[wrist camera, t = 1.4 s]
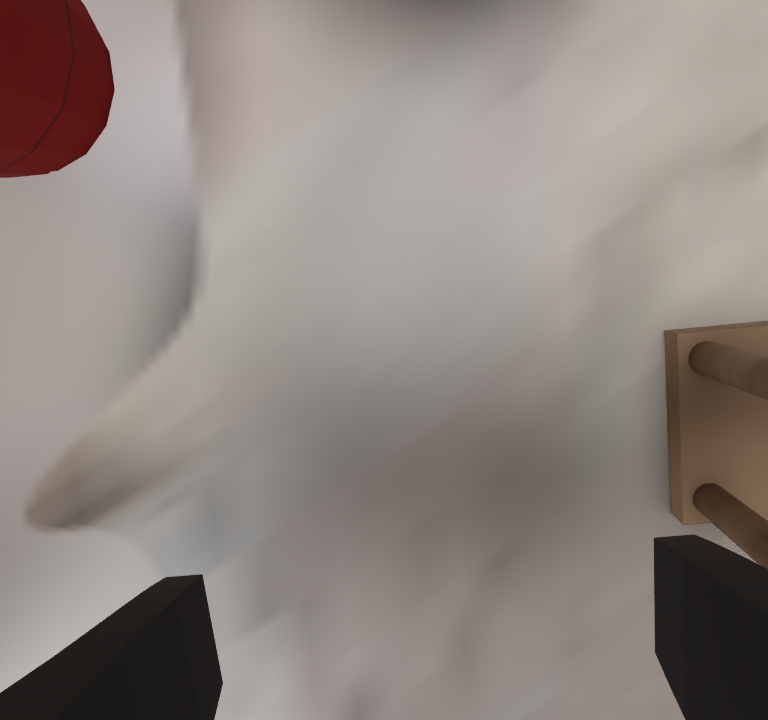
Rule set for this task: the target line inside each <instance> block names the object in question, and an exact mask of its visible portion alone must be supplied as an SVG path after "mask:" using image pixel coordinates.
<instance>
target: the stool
mask: <svg viewBox="0 0 768 720" xmlns="http://www.w3.org/2000/svg"><path fill="white" fill-rule="evenodd" d="M664 336H665V364H666V392H667V420H668V448H669V477H670V505H671V513H672V514H673V515H674V516H675V517H676V518H677V519H678V520H679V521H680V522H681V523H682V524H683V525H689V524H704V523H713V524H714V525H715V526H716V527H717V528H718V529H720V530H721V531H722V532H723V533H724V534H725V535H726V536H728V537H729V538H730V539H731V540H732V541H733V542H734V543H735V544H737V545H738V546H739V547H740V548H741V549H742V550H743V551H744V552H746V553H747V554H748V555H749V556H750V557H751V558H752V559H754V560H755V561H756V562H757V563H758V564H759V565H761V566H763V567H765V568H767V569H768V521H767V520H765V519H768V321H762V322H751V323H741V324H730V325H720V326H709V327H698V328H688V329H677V330H667V331H664Z"/></svg>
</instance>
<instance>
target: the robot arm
mask: <svg viewBox="0 0 768 720" xmlns="http://www.w3.org/2000/svg"><path fill="white" fill-rule="evenodd" d="M654 595H655V653H656V656H657V658H658V660H659V662H660V665H661V667H662V669H663V671H664V674H665V676H666V678H667V681H668V683H669V685H670V687H671V690H672V692H673V694H674V696H675V698H676V700H677V702H678V704H679V707H680V709H681V711H682V713H683V715H684V717H685V719H686V720H768V569H767V568H765V567H763V566H761V565H759V564H757V563H755V562H753V561H751V560H749V559H747V558H745V557H743V556H741V555H738V554H736V553H734V552H732V551H730V550H728V549H726V548H724V547H722V546H720V545H718V544H715V543H713V542H711V541H709V540H706V539H704V538H701V537H699V536H696V535H683V536H671V537H658V538H654ZM222 685H223V682H222V676H221V671H220V666H219V660H218V655H217V650H216V644H215V639H214V634H213V629H212V623H211V618H210V613H209V607H208V602H207V597H206V591H205V586H204V581H203V575H202V574H201V575H189V576H176V577H166V578H164V579H162V580H161V581H159V582H157V583H155V584H154V585H152V586H151V587H149V588H148V589H146V590H145V591H143V592H142V593H140V594H139V595H138V596H136V597H135V598H134V599H132V600H131V601H129V602H128V603H126V604H125V605H124V606H122V607H121V608H120V609H118V610H117V611H115V612H114V613H113V614H111V615H110V616H109V617H107V618H106V619H105V620H103V621H102V622H100V623H99V624H98V625H96V626H95V627H94V628H92V629H91V630H89V631H88V632H87V633H86V634H84V635H83V636H81V637H80V638H78V639H77V640H76V641H75V642H73V643H72V644H70V645H69V646H67V647H66V648H65V649H64V650H62V651H61V652H59V653H58V654H57V655H55V656H54V657H52V658H51V659H49V660H48V661H47V662H45V663H44V664H42V665H41V666H39V667H38V668H36V669H35V670H33V671H32V672H30V673H29V674H27V675H26V676H25V677H23V678H22V679H20V680H19V681H17V682H16V683H14V684H13V685H11V686H10V687H8V688H7V689H5V690H4V691H2V692H1V693H0V720H214V718H215V714H216V710H217V706H218V701H219V697H220V693H221V689H222Z"/></svg>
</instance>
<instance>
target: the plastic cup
mask: <svg viewBox="0 0 768 720" xmlns="http://www.w3.org/2000/svg"><path fill="white" fill-rule="evenodd" d="M113 95H114V83H113V75H112V68H111V61H110V54H109V51H108V49H107V47H106V46H105V43H104V41H103V39H102V38H101V36H100V34H99V32H98V30H97V28H96V26H95V24H94V23H93V21H92V19H91V17H90V15H89V13H88V11H87V9H86V7H85V6H84V4H83V3H82V2H81V0H0V177H20V176H30V175H41V174H48V173H49V172H51V171H58V170H60V169H61V168H63V167H65V166H67V165H68V164H70V163H72V162H73V161H75V160H77V159H78V158H80V157H82V156H84V155H85V154H87V152H88V151H89V149H90V148H91V147H92V145H93V144H94V142H95V141H96V140H97V138H98V137H99V135H100V134H101V133H102V131H103V130H104V128H105V127H106V125H107V121H108V116H109V112H110V108H111V103H112V99H113Z"/></svg>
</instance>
